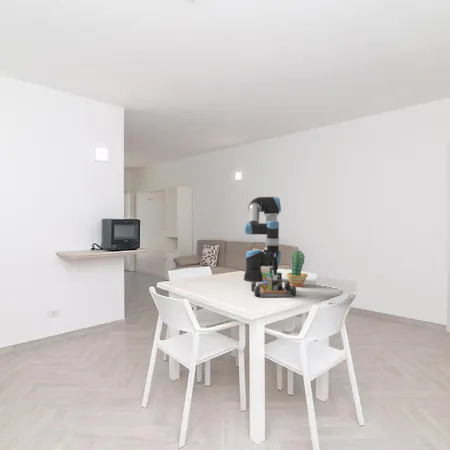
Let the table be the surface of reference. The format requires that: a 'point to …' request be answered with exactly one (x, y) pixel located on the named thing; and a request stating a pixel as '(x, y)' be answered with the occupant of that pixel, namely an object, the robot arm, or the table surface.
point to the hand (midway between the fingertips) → (272, 277)
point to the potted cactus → (297, 270)
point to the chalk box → (272, 281)
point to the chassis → (273, 294)
